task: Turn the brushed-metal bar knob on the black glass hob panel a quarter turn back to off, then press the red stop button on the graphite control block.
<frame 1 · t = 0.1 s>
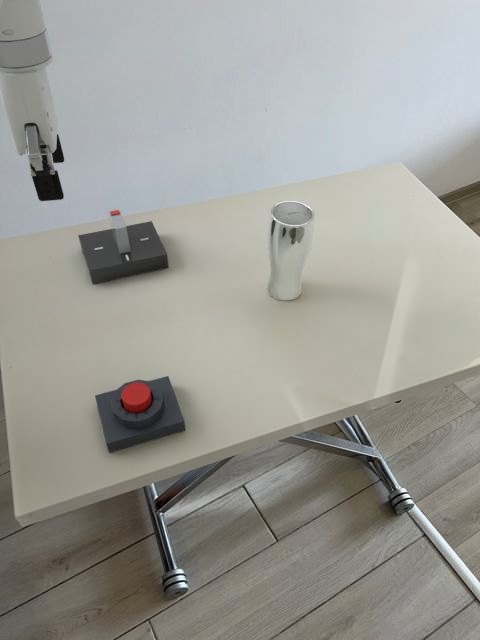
hand: (52, 179, 74), 19 cm above the table, tool pointing down, fingers open, 9 cm apart
hob knob: (119, 231, 89), point 6 cm above the table, hinge at 90.0°
hob panel: (124, 258, 93), on the table
stop button: (136, 397, 68), point 4 cm above the table, slide at 0.1 cm
beer glass: (284, 289, 90), on the table
stop block: (141, 417, 71), on the table
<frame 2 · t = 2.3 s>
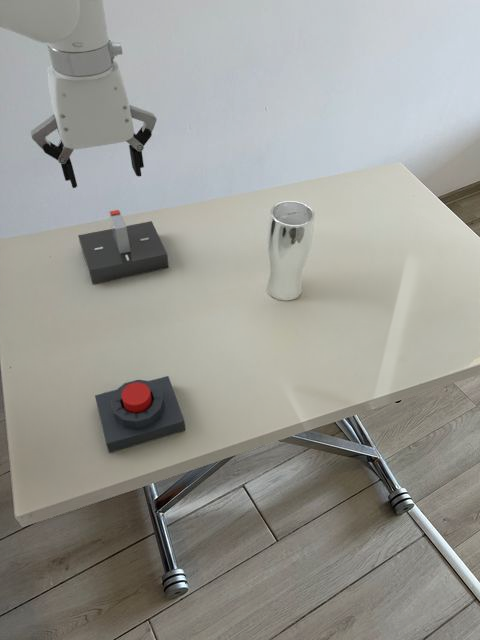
hand: (105, 177, 81), 16 cm above the table, tool pointing down, fingers open, 9 cm apart
nothing on the table moved.
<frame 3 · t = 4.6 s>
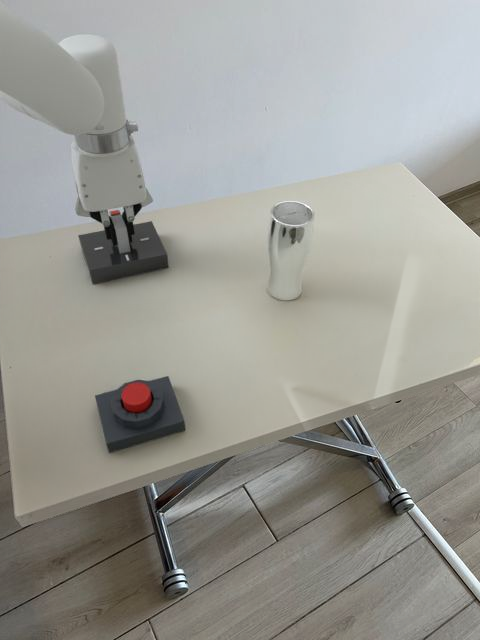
hand: (121, 238, 90), 4 cm above the table, tool pointing down, fingers closed on hob knob, 2 cm apart
hob knob: (119, 231, 89), point 6 cm above the table, hinge at 90.0°, touching gripper
everything else where it was.
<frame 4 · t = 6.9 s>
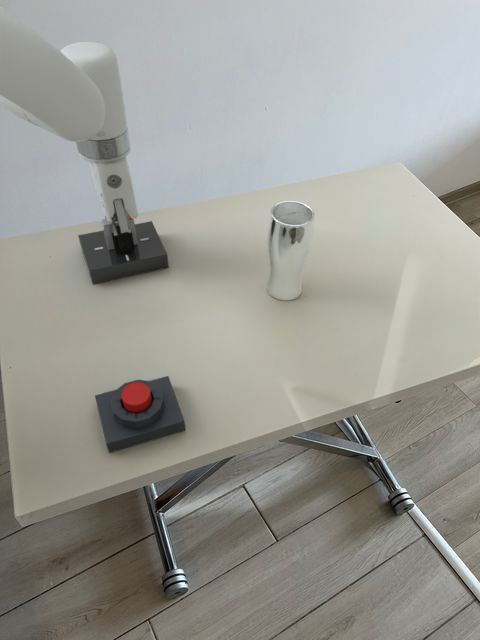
hand: (121, 242, 90), 3 cm above the table, tool pointing down, fingers open, 4 cm apart
hob knob: (119, 231, 89), point 6 cm above the table, hinge at 0.1°
everything else where it was.
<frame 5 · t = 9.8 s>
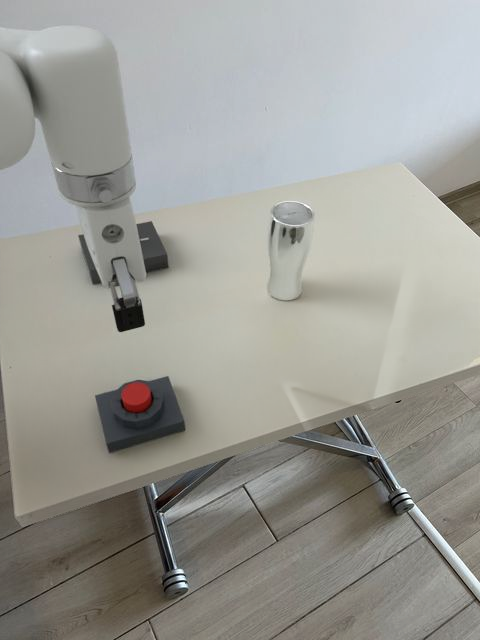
hand: (121, 300, 65), 15 cm above the table, tool pointing down, fingers open, 9 cm apart
nothing on the table moved.
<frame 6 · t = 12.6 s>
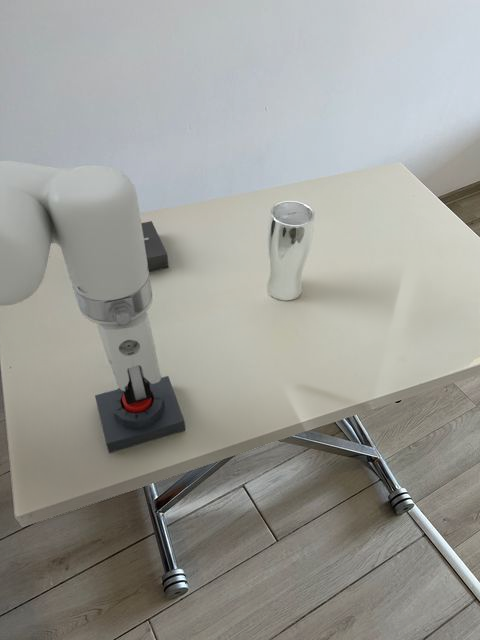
hand: (138, 396, 68), 5 cm above the table, tool pointing down, fingers closed
stop button: (137, 400, 68), point 4 cm above the table, slide at -0.6 cm, touching gripper
everything else where it was.
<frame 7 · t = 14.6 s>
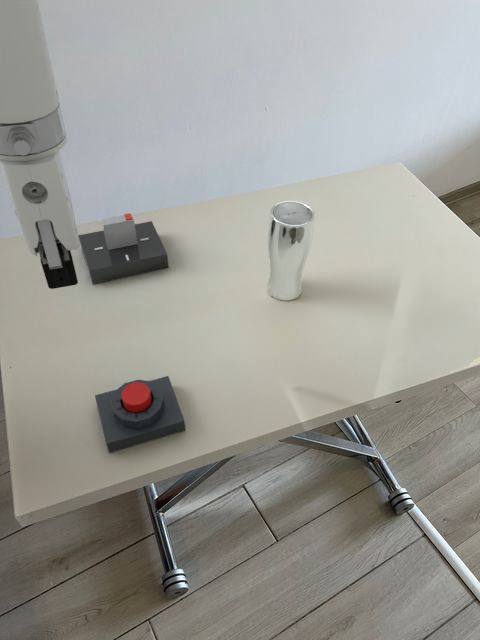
hand: (63, 282, 61), 19 cm above the table, tool pointing down, fingers closed
stop button: (136, 397, 68), point 4 cm above the table, slide at 0.1 cm
everything else where it was.
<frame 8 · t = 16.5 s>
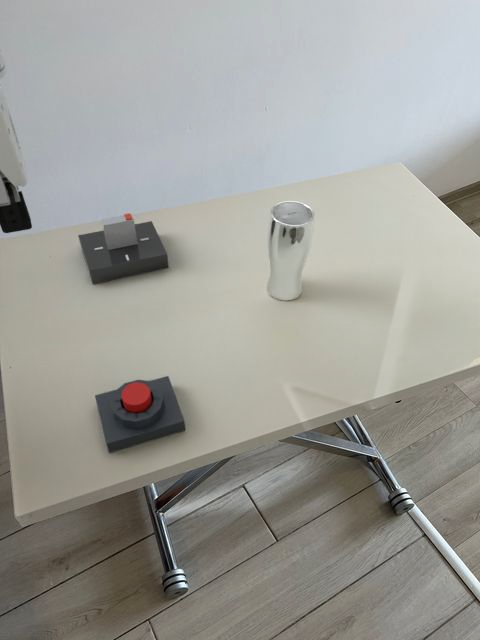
hand: (17, 227, 61), 22 cm above the table, tool pointing down, fingers closed
nothing on the table moved.
at the end: hob knob at +0° (first picture: +90°); stop button pushed in 1.1 cm at the most during the clip, back to where it started at the end; stop button slide at 0.1 cm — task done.
